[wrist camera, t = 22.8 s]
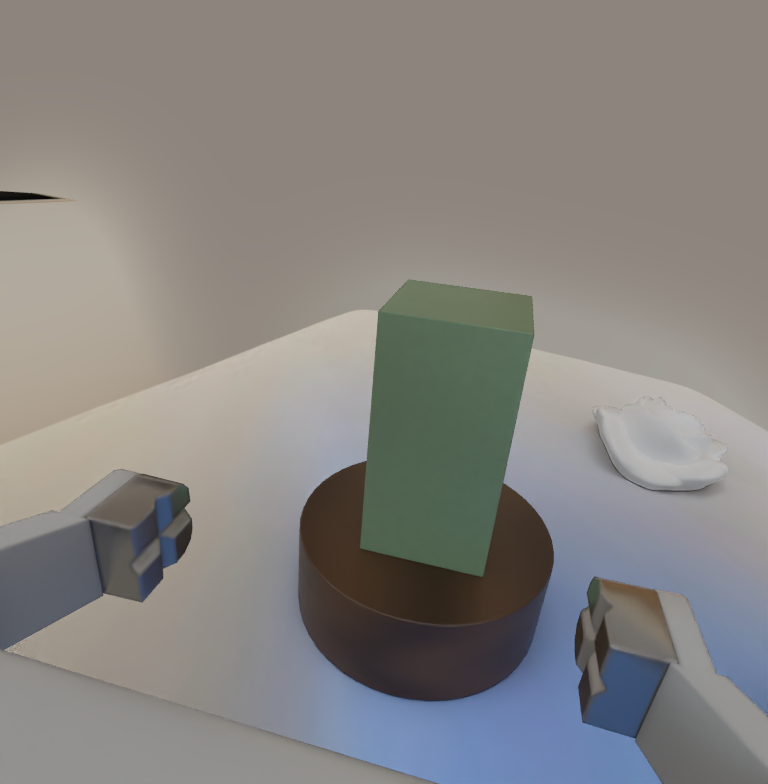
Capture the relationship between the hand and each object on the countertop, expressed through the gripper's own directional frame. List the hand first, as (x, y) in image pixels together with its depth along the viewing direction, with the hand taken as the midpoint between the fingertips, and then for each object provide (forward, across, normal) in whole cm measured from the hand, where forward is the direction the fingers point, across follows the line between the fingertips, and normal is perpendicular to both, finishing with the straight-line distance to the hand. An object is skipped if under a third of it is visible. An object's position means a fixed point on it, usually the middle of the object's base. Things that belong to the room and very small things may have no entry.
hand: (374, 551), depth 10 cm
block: (+11, 0, +8) cm, 13 cm away
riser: (+11, 0, +12) cm, 16 cm away
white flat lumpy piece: (+29, -14, +12) cm, 34 cm away
